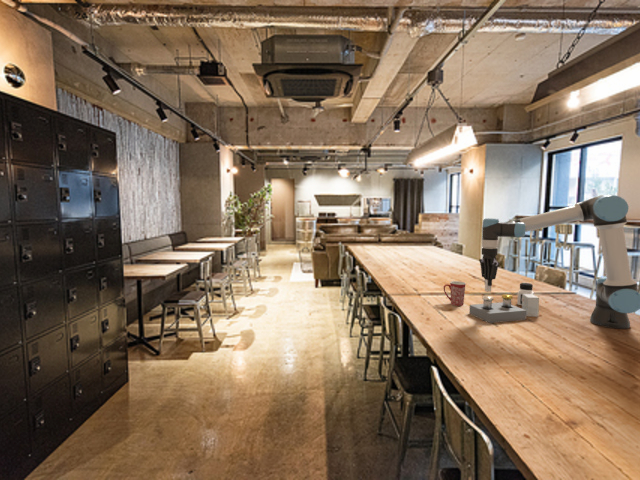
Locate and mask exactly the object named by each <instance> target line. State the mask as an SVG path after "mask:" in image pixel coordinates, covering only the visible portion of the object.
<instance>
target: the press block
mask: <svg viewBox="0 0 640 480" xmlns="http://www.w3.org/2000/svg"><path fill="white" fill-rule="evenodd" d="M468 311H469V314H470V315H471V316H473V317H476V318H478V319H480V320H481V321H484V322H486V323H489V324H495V323H503V322H515V321H524V320H527V315H526V310H524V309H522V307H521V308H520V307H518V306H515V305H512V304H511V308H504V307H503V301H502V302H501V301H500V302H492V310H486V309H483V303H476V304H469V310H468Z"/></svg>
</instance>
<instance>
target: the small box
mask: <svg viewBox="0 0 640 480" xmlns="http://www.w3.org/2000/svg"><path fill="white" fill-rule="evenodd" d="M539 305H540V297H538V296H537V295H535V294H534V295H533V294H522V305H521V309H524V310H526V317H539V313H540V312H539V311H540V308H539V307H540V306H539Z"/></svg>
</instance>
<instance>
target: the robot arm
mask: <svg viewBox="0 0 640 480" xmlns="http://www.w3.org/2000/svg"><path fill="white" fill-rule="evenodd" d="M628 212H629V204H628V202H627V201H626V199H624V198H623V197H621V196H619V195H615V194H606V195H597V196H595V197H592V198H589V199H586V200H582V201H580V202H576V203H575V204H574V205H573V206H572V205H570V206H568V207H562V208H559V209H555V210H550V211H547V212H544V213H539V214H538V213H537V214H534V215H530V216H526V217H523V218H522V217H521V218H519V219H515V220H514V219H513V220H509V221H505V222H501V221H500V220H499V218H492V217H491V218H490V217H489V218H484V219H482V227H481V228H482V231H481V232H482V235H481V255H482V258H479V259H478V261H479V263H480V271H481V277H482V278H483V279H484V292H486V293H491V292H492V285H493V280H496V277H497V273H498V269H499V266H500V265H501V264H500V262H498V261H497V258H496V257H497V256H498V245H499V244H498V243H499V237H500V238H501V237H503V238H524V237H526V236H525V235H526V233H527V232H531V231H534V230H540V229H545V228H548V227H554V226H558V225H563V224H567V223H571V222H576V221H581V222H585V221H591V220H592V222H593V227H595V228H596V229H598V234H599V239H600V246H601V252H602V258H603V264H604V271H605V276H606V277H605V278H604V277H599V278H598V279H597V281H596V293H595V295H596V296H595V307H594V309H593V311H592V313H591V315H590V319H589V320H590V322H591V323H592V324H595V325H598V326H601V327H605V328H610V329H618V330H620V329H621V330H622V329H623V330H625V329H630V327H631V321H630V317H629V315H628V314H633V313H635V312H637V311H639V310H640V292H639V290H638V283H637V281H636V280H634V279H633V278H632V273H631V268H630V261H629V255H628V248H627V244H626V236H625V230H624V226H625V225H626V224H627V223H628V221H627V214H628Z"/></svg>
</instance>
